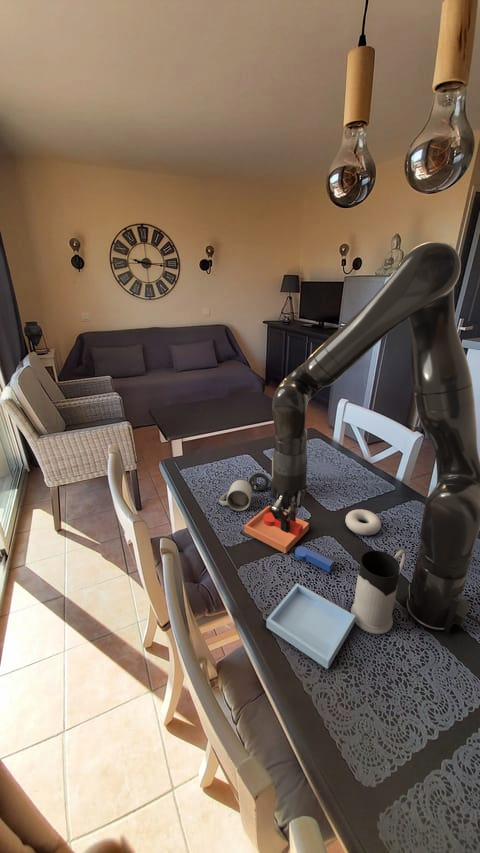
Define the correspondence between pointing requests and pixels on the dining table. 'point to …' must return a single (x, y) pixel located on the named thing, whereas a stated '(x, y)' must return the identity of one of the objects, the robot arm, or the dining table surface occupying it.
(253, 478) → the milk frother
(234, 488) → the ceramic mug
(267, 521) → the red spoon
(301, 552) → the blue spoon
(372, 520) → the donut
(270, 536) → the terracotta tray
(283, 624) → the blue tray
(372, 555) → the grey pitcher
